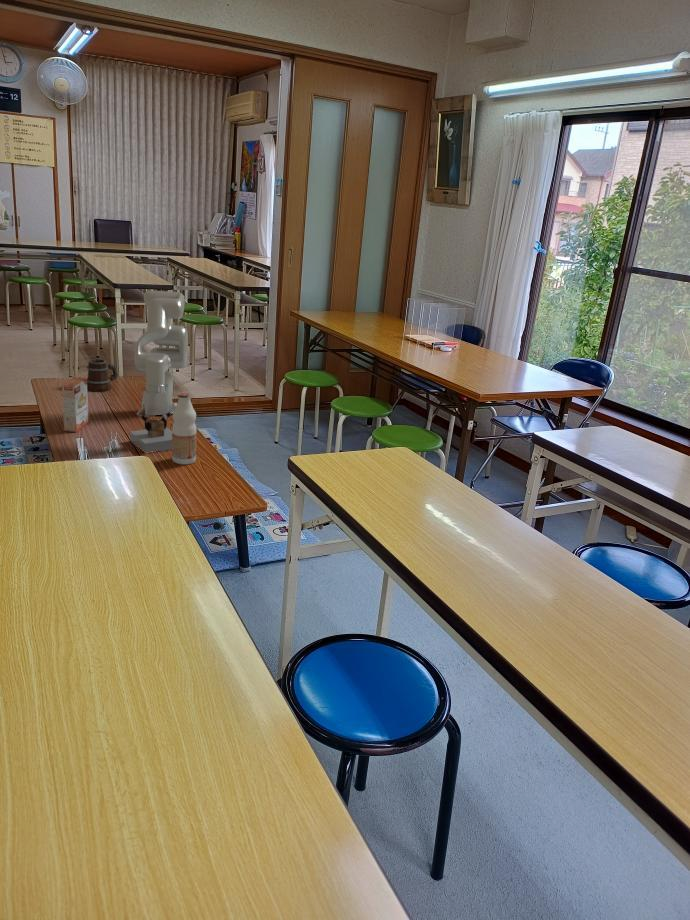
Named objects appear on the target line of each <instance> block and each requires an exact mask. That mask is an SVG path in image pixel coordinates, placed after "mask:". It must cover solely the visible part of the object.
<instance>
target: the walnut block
mask: <svg viewBox="0 0 690 920" xmlns="http://www.w3.org/2000/svg"><path fill="white" fill-rule="evenodd" d="M149 422H150V431H148V434H149V435H150V436H151V437H160V436H164V422H163V421H161V419H160V418H156V419H149Z"/></svg>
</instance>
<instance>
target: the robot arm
mask: <svg viewBox="0 0 690 920" xmlns="http://www.w3.org/2000/svg"><path fill="white" fill-rule="evenodd" d="M143 301H144V304H145V306H146V307H147V329H146V331H145V332H144V333H142V335H141V336H140V337H139V338H138V339H137V341H136V344H135V347H134V366H135V369H137V370H138V371H140V372H143V371H144V372H145V390H143V394H142V397H141V398H142V399H141V408H140V409H139V410H138V411H137V412H136V415H137V416H138V417H139V418H140V419H142V420H143V421H144V430H147V431H150V422H149V420H151V417H153V416H156V415H162V416H161V419H160V420H161V421H163V422H164V429H166V427H167V426H168V423H167V421H168V419H169V418H170V416H171V414H172V413H173V411H174V410H175V408H176V406H177V403H178V402H173V375H172V374H171V372H170V371H169V369H185V368H186V367H187V365H188V361H189V360H188V359H189V355H188V354H189V352H188V351H189V349H188V346H189V345H188V332H187V329H186V328H185V326H183V325H172V324H171V321H172V320H174V319H176V320H180V319H182V318H183V316H184V312H185V305H186V303H185V301H186V299H185V296H184V294H183V293H182V292H179V291H178V292H177V291H166V290H165V291H164V290H147V291H145V292H144V294H143ZM171 319H172V320H171ZM152 342H153V343H152ZM150 343H152V344H153V345H157V347H153V348H151V349H150V350H149V352H143V349H144V347H146V346H147V345H148V344H150ZM162 346H163V347H162ZM143 414H144V415H143Z"/></svg>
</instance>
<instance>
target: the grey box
mask: <svg viewBox="0 0 690 920" xmlns="http://www.w3.org/2000/svg"><path fill="white" fill-rule="evenodd" d="M129 435H130V436H129V437H130V438H129V439H130V441H131V442H130V443H132V442H133V443H134V444H136V445H137V446H139V447H140V448H141V449H143V450H144V451H145V452H150V451H161V452H167V451H166V450H168V451H172V429H170V428H168V427H167V426H166V429H164V436H160V437H151V436H150V435H149V434H148V431H147V430H146V429H139V430H131V431H129ZM133 443H132V444H133ZM134 444H133V445H134Z"/></svg>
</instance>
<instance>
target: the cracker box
mask: <svg viewBox="0 0 690 920" xmlns="http://www.w3.org/2000/svg"><path fill="white" fill-rule="evenodd" d="M87 378H88V377H77V376H74V377H72V378H71V379H69V380H68V381H67V380H66V381H65V382H64V383H62V384H61V393H62V394H61V395H62V396H61V397H62V398H61V399H62V417H63V420H62V421H63V432H72V433H77V432H79V431H80V430H81V429H82V428H84V427H85V426H86V425H87V424H88V423H89V406H88V405H89V402H88V400H89V399H88V390H87Z"/></svg>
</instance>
